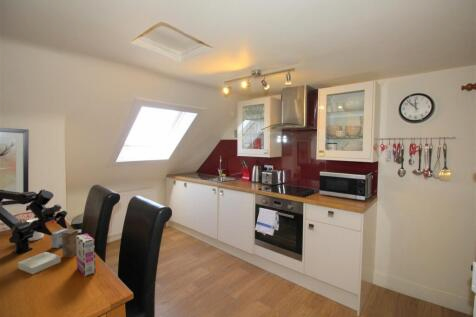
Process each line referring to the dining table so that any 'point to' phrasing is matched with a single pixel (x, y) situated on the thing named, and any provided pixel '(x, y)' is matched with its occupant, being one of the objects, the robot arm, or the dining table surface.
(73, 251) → the walnut block
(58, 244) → the medicine box
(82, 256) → the candy bar box
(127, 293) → the dining table surface
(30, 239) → the beverage can
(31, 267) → the sage base
